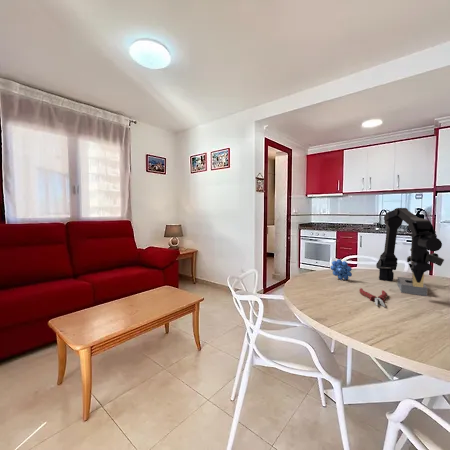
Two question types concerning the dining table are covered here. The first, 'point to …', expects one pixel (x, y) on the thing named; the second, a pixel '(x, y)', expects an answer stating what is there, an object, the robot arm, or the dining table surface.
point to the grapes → (341, 269)
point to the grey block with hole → (410, 287)
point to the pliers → (374, 298)
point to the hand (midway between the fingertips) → (417, 281)
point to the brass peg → (416, 281)
